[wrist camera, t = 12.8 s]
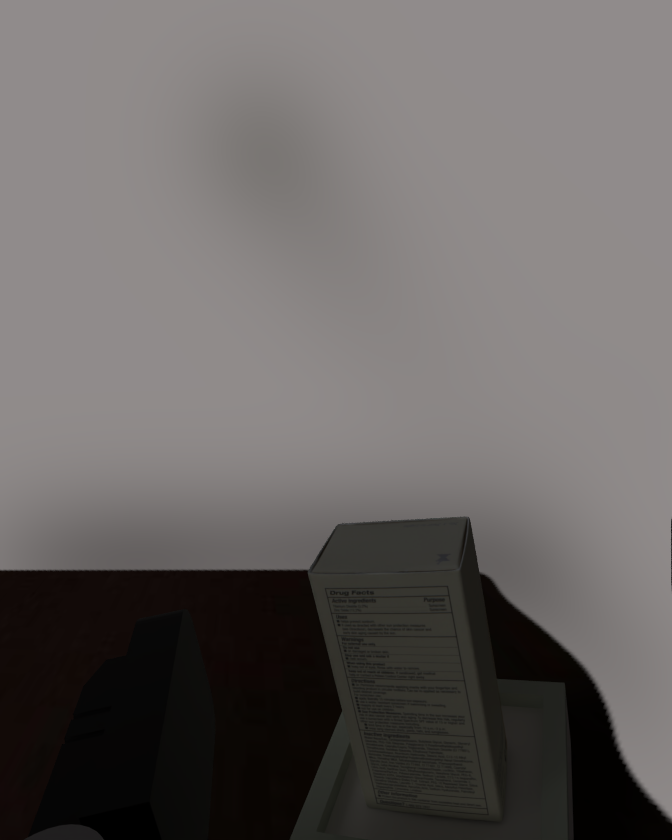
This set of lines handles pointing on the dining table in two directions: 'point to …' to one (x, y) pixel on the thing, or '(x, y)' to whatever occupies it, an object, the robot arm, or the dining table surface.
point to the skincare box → (414, 665)
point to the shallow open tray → (443, 836)
